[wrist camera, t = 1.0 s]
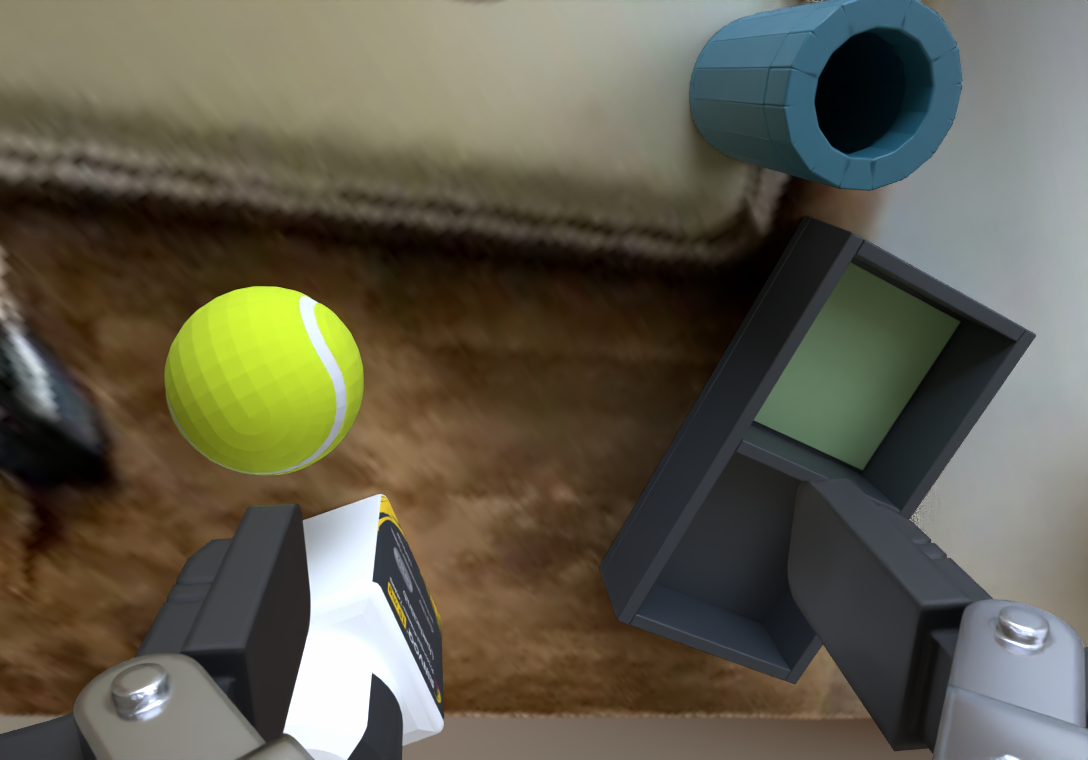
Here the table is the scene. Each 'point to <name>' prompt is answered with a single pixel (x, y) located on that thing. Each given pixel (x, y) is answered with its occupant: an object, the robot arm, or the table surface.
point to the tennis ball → (264, 381)
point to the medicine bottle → (366, 640)
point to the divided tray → (803, 440)
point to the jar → (830, 90)
